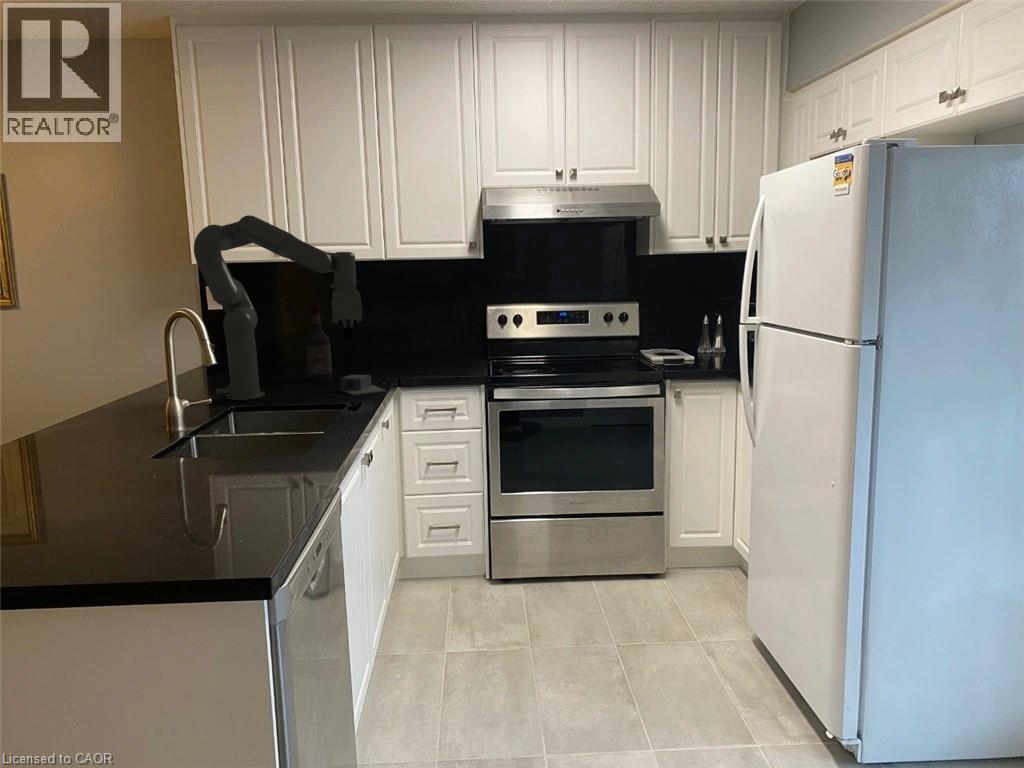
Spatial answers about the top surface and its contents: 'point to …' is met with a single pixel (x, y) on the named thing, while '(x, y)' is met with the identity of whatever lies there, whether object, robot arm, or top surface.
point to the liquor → (318, 350)
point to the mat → (365, 390)
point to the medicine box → (356, 382)
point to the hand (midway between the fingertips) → (347, 338)
